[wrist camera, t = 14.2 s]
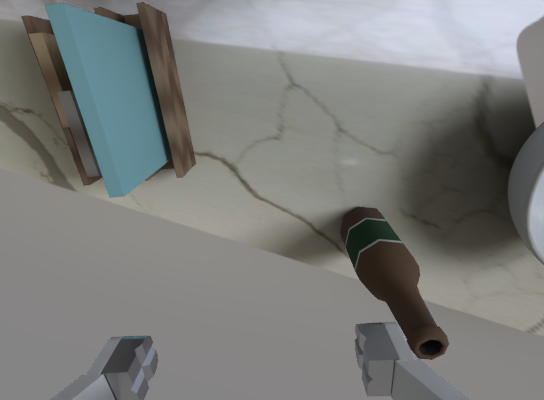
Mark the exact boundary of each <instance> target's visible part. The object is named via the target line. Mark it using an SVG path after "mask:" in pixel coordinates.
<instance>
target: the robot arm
mask: <svg viewBox="0 0 544 400" xmlns="http://www.w3.org/2000/svg"><path fill="white" fill-rule="evenodd" d="M355 332H356V335H357V338H356V340H355V351H356V357H357V362H358V365H359V367H360V368H361V369H362V380H363V383H364V387H365V390H366V394H367V396H391V397H392V399H393V400H471V399H470V398H469V397H468V396H466V395H465V394H464V393H462V392H461V391H460V390H459V389H457V388H456V387H454V386H453V385H452V384H451V383H449V382H448V381H447V380H445V379H444V378H443V377H442V376H440V375H439V374H438V373H437V372H435V371H434V370H433V369H431V368H430V367H429V366H428V365H426V364H425V363H424V362H422V361H421V360H419V359H415V358H414V355H413V354H412V351H411V349H410V347H409V345H408V343H407V341H406V339H405V337H404V335H403V333H402V331H401V329H400V327H399V325H398V323H396V322H383V323H366V324H356V327H355ZM152 343H153V341H152V338H151V336H124V337H112V338H110V339H109V340H108V342H107V343H106V344H105V346H104V348H103V349H102V351H101V352H100V354H99V355H98V357H97V358H96V360H95V361H94V363H93V365H92V366H91V368H90V369H89V371H88V372H87V374H86V375H82V376H80V377H79V378H78V379H76V380H75V381H74V382H73V383H71V384H70V385H69V386H67V387H66V388H65V389H63V390H62V391H61V392H59V393H58V394H57V395H55V396H54V397H53V398H51V399H50V400H144V398H145V396H146V394H147V391H148V389H149V386H148V381H149V380H150V379H151V378H152V377H153V376H154V374H155V371H156V369H157V363H158V357H157V356H158V355H157V352H156V350H155V349H154V348H152V347H151V346H152Z"/></svg>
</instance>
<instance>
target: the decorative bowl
mask: <svg viewBox="0 0 544 400" xmlns="http://www.w3.org/2000/svg"><path fill="white" fill-rule="evenodd" d="M508 204H509V209H510V213H511V217H512V219H513V222H514V225H515V227H516V229H517V231H518V233H519V235H520V237H521V238H522V240H523V241H524V243H525V244H526V246H527V247H528V249H529V250H530V251H531V252H532V254H533V255H534V256H535V257H536V258H537V259H538V260H539V261H540V262H541V263H542V264H543V265H544V122H543V123H542V124H541V125H540V126H539V127H538V128H537V129H536V130H535V131H534V132H533V133H532V134H531V136H530V137H529V138H528V139H527V141H526V142H525V143H524V145H523V146H522V148H521V149H520V151H519V153H518V154H517V156H516V159H515V161H514V163H513V166H512V169H511V172H510V176H509V181H508Z"/></svg>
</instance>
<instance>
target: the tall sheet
mask: <svg viewBox="0 0 544 400" xmlns="http://www.w3.org/2000/svg"><path fill="white" fill-rule="evenodd" d="M45 8H46V11H47V14H48V17H49V20H50V23H51V26H52V29H53V32H54V34H55V37H56V40H57V43H58V46H59V49H60V52H61V55H62V58H63V61H64V64H65V67H66V70H67V73H68V76H69V79H70V82H71V85H72V88H73V91H74V94H75V97H76V100H77V103H78V106H79V108H80V111H81V114H82V117H83V120H84V123H85V126H86V129H87V132H88V135H89V138H90V141H91V144H92V147H93V150H94V153H95V156H96V159H97V162H98V165H99V168H100V171H101V174H102V177H103V180H104V183H105V185H106V188H107V191H108V194H109V197H122V196H125V195H127V194H128V193H129V192H130V191H132V190H133V189H134V188H135V187H137V186H138V185H139V184H141V183H142V182H143V181H144V180H146V179H147V178H148V177H149V176H151V175H152V174H153V173H154V172H156V171H157V170H158V169H159V168H161V167H162V166H163V165H165V164H166V163H167V162H168V161H170V160H171V159H172V154H171V150H170V146H169V141H168V137H167V133H166V128H165V124H164V120H163V116H162V111H161V107H160V103H159V98H158V94H157V90H156V85H155V81H154V77H153V72H152V68H151V64H150V59H149V55H148V51H147V46H146V42H145V38H144V34H143V30H142V29H139V28H136V27H133V26H130V25H127V24H124V23H121V22H118V21H115V20H112V19H109V18H106V17H103V16H100V15H97V14H94V13H91V12H88V11H85V10H82V9H79V8H76V7H73V6H70V5H67V4H64V3H60V4H52V5H45Z"/></svg>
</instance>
